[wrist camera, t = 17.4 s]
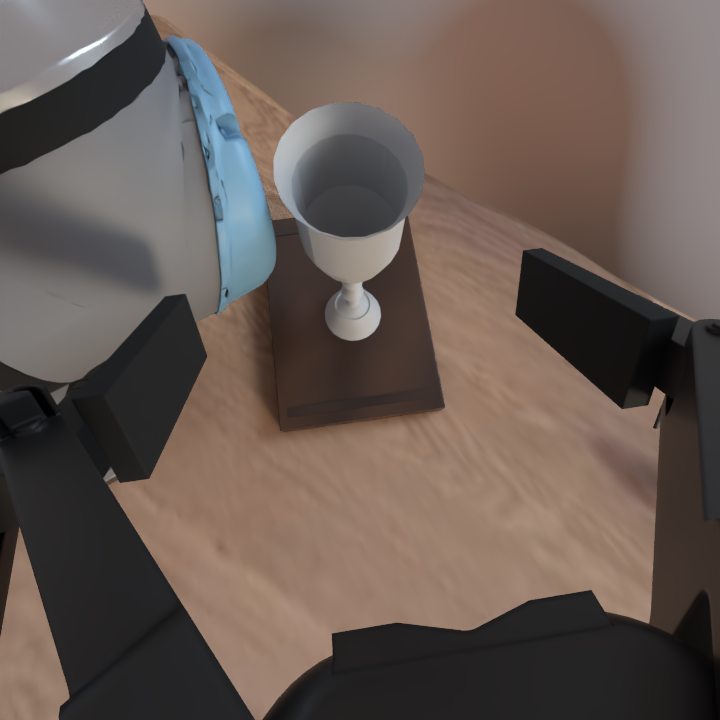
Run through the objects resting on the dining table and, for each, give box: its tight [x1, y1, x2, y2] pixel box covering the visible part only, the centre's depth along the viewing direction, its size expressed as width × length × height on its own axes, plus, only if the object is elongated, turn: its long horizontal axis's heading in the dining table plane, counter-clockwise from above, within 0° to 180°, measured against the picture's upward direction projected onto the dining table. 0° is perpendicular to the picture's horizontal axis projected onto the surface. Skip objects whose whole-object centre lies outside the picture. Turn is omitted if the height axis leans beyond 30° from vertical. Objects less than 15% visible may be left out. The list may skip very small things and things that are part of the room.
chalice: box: [274, 102, 425, 341], centre depth 26 cm, size 7×7×18 cm
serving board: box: [267, 216, 445, 432], centre depth 36 cm, size 14×20×2 cm
